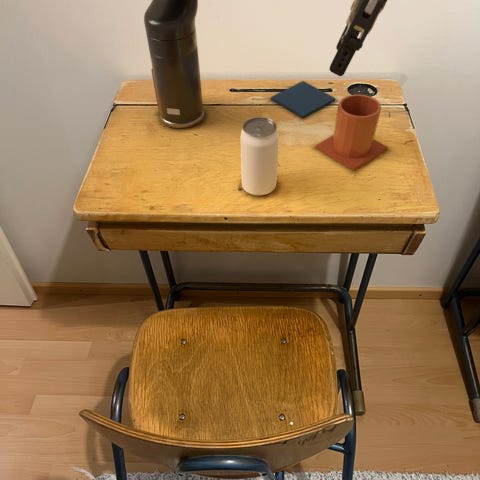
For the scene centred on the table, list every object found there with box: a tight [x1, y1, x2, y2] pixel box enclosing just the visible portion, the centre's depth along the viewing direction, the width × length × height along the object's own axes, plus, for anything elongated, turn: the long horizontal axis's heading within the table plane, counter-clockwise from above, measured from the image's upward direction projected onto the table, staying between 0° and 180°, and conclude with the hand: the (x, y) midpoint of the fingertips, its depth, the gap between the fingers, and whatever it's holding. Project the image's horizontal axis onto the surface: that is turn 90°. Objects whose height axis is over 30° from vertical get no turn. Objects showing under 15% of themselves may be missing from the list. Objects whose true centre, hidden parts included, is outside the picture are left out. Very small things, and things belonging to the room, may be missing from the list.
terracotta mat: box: [315, 135, 389, 172], centre depth 92 cm, size 10×10×1 cm
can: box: [239, 116, 280, 197], centre depth 81 cm, size 6×6×12 cm
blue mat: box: [270, 80, 336, 119], centre depth 102 cm, size 10×10×1 cm
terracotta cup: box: [332, 93, 382, 158], centre depth 88 cm, size 8×8×9 cm
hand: (338, 61), depth 68 cm, fingers open, 8 cm apart
